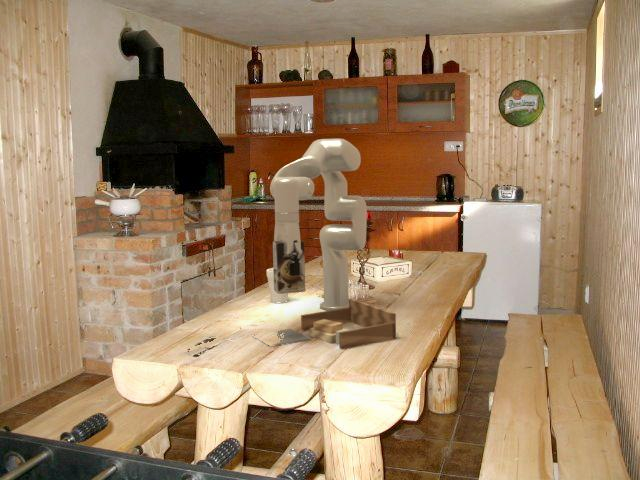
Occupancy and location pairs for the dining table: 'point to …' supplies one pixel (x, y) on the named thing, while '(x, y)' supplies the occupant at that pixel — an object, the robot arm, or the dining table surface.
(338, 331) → the offcut cube
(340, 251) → the robot arm
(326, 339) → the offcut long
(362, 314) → the rack
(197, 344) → the driftwood
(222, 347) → the dining table surface
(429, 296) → the dining table surface
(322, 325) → the offcut short
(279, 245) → the coffee box
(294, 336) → the mat
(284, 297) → the foam cup
